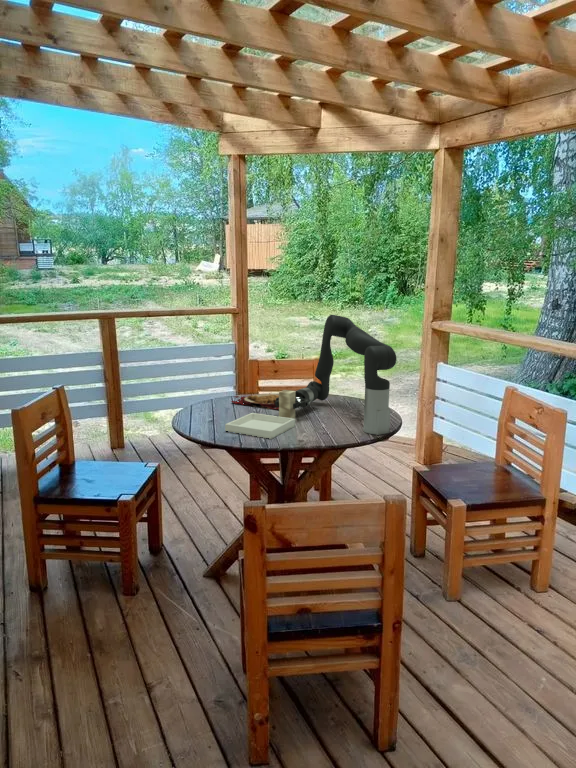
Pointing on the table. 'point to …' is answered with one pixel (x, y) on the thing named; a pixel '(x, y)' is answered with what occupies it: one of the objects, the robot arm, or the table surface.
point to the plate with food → (259, 400)
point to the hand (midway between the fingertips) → (284, 405)
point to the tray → (260, 425)
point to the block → (286, 404)
